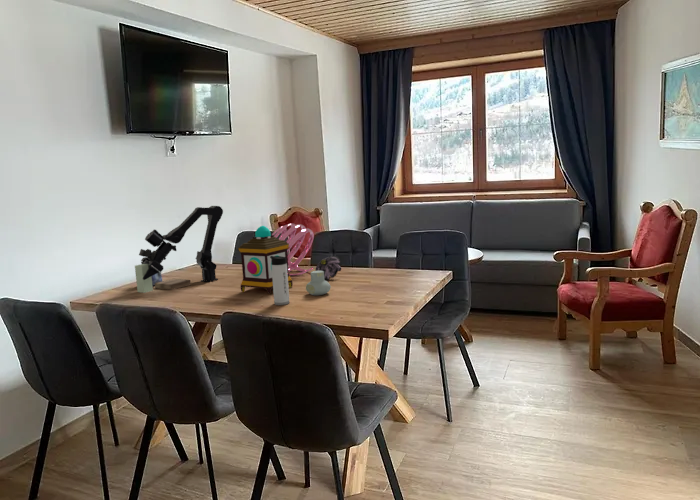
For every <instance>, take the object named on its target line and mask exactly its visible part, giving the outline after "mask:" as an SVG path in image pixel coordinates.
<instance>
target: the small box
mask: <svg viewBox="0 0 700 500" xmlns="http://www.w3.org/2000/svg"><path fill="white" fill-rule="evenodd" d="M151 277H152V286H153V287H155V283H158V282H162V281H163V276H162V271H161V272H160V271H159V273H157V274H155V275H153V276H151Z"/></svg>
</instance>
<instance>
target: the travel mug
mask: <svg viewBox="0 0 700 500" xmlns="http://www.w3.org/2000/svg"><path fill="white" fill-rule="evenodd" d="M270 258H271V259H272V260H271V262H272V263H271V265H272V279H273V288H272V292H273V303H274V305H275V306H286V305H288V304H290V292H289V291H290V290H289V283H288V274H287V262H286V257H282V256H270Z"/></svg>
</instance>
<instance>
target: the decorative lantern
mask: <svg viewBox="0 0 700 500" xmlns="http://www.w3.org/2000/svg"><path fill="white" fill-rule="evenodd" d="M254 235H255V236H252V238H250V239H249V240H248V241H246V242H243V243H242V244H241V245H240V246H239V247H237V248H238V251H239V252H240V257H241V269H242V271H241V272H242V280H241V283H240V292H241V293H244V292H245V289H246V288H256V289H264V290H266V292H267V295H269V296H270V295H271V293H272V289H273V279H272V265H271V263H272V262H271V260H272V259H271V258H270V256H282V257H286V262H287V274H288V288H292V287H293V284H294V283H293V279H292V278H291V277H292V276H289V274H290V272H289V269H288V267H289V266H288V253H287V249H288V247H289V244H288V243H287V242H286V240H279V238H278V237H277V238H276V237H274V236H275V234H274V235H272V233H271V230H270V228H268V227H267V226H265V225H261V226H259V227H258V228H256V230H255V234H254Z"/></svg>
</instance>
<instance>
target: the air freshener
mask: <svg viewBox="0 0 700 500" xmlns="http://www.w3.org/2000/svg"><path fill="white" fill-rule="evenodd" d="M331 288H332V287H331V284H330V283H329V281H325V280H324V272H323V271H315V270H313V271H312V270H311V271H310V281H309V282H307V284H306V285H305V290H306V292H307V293H308V294H309V295H311V296H323V295H326V294H327V293H329V292H330V290H331Z"/></svg>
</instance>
